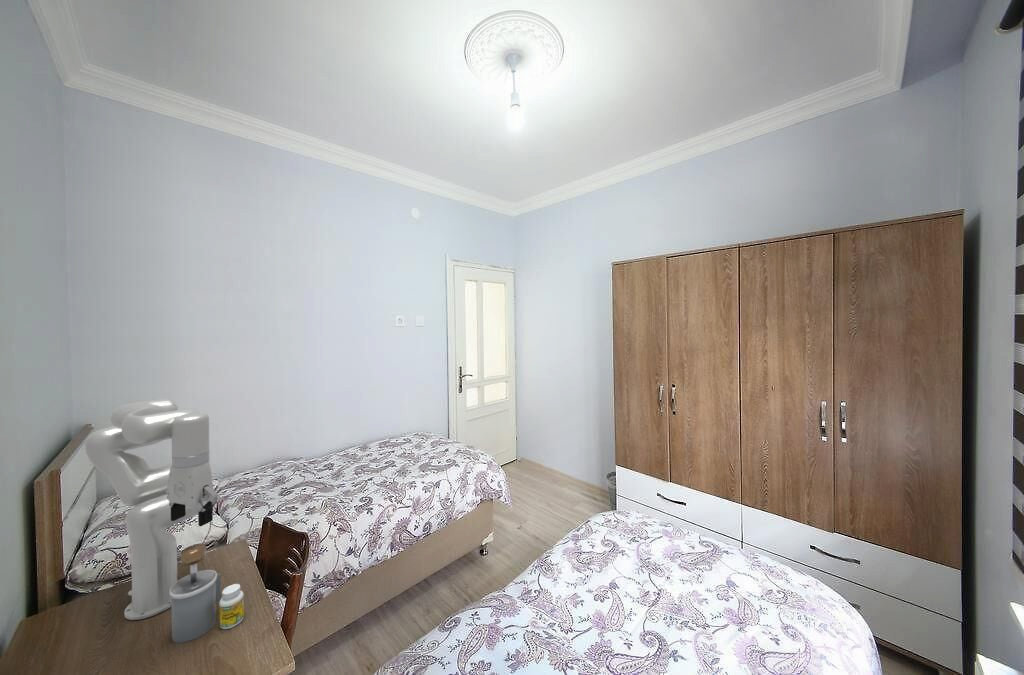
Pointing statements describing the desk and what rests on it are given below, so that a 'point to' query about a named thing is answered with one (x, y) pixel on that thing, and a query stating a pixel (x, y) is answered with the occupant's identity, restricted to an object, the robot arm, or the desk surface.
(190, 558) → the plunger
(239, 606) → the supplement bottle
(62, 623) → the desk surface
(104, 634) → the desk surface
